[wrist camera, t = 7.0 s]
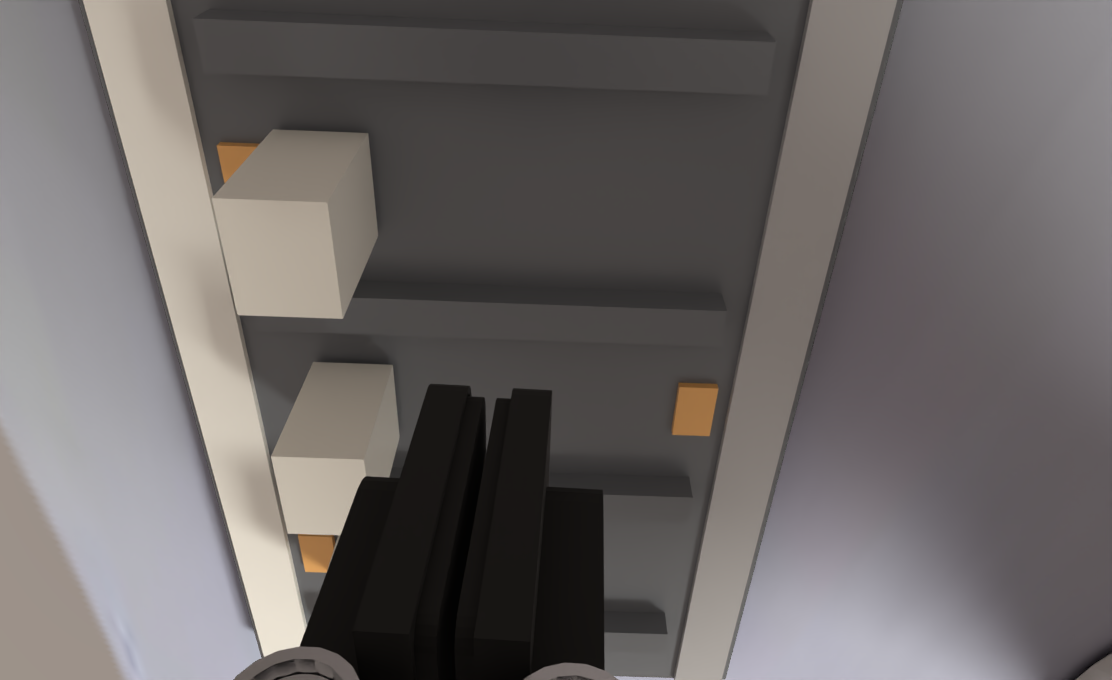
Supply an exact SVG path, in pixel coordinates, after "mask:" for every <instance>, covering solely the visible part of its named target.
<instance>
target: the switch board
mask: <svg viewBox="0 0 1112 680" xmlns="http://www.w3.org/2000/svg"><path fill="white" fill-rule="evenodd" d="M78 1H79V5H80V8H81V12H82V15H83V19H84V23H85V26H86V30H87V33H88V37H89V40H90V44H91V48H92V51H93V55H94V58H95V62H96V66H97V69H98V73H99V76H100V80H101V84H102V87H103V91H104V94H105V98H106V101H107V105H108V109H109V112H110V116H111V119H112V123H113V127H114V130H115V134H116V137H117V141H118V144H119V148H120V152H121V155H122V159H123V162H124V166H125V170H126V173H127V177H128V180H129V184H130V188H131V191H132V195H133V198H134V202H135V205H136V209H137V213H138V216H139V220H140V223H141V227H142V231H143V234H144V238H145V241H146V245H147V248H148V252H149V256H150V259H151V263H152V266H153V270H154V274H155V277H156V281H157V284H158V288H159V292H160V295H161V299H162V302H163V306H164V309H165V313H166V317H167V320H168V324H169V327H170V331H171V335H172V338H173V342H174V345H175V349H176V352H177V356H178V360H179V363H180V367H181V370H182V374H183V378H184V381H185V385H186V388H187V392H188V396H189V399H190V403H191V406H192V410H193V413H194V417H195V421H196V424H197V428H198V431H199V435H200V439H201V442H202V446H203V449H204V453H205V456H206V460H207V464H208V467H209V471H210V474H211V478H212V482H213V485H214V489H215V492H216V496H217V500H218V503H219V507H220V510H221V514H222V517H223V521H224V525H225V528H226V532H227V535H228V539H229V543H230V546H231V550H232V553H233V557H234V560H235V564H236V568H237V571H238V575H239V578H240V582H241V586H242V589H243V593H244V596H245V600H246V604H247V607H248V611H249V614H250V618H251V621H252V625H253V629H254V632H255V636H256V639H257V643H258V647H259V650H260V654H261V657H262V658H263V657H265V656H267V655H270V654H272V653H274V652H276V651H279V650H284V649H289V648H294V647H299V646H300V644H301V641H302V638H303V636H304V633H305V630H306V627H307V625H308V622H309V619H310V617H311V614H312V611H313V608H314V606H315V603H316V600H317V598H318V595H319V592H320V589H321V587H322V584H323V581H324V579H325V576H326V573H327V570H328V566H329V563H330V560H331V557H332V553H333V550H334V547H335V544H336V540H337V537H338V535H314V534H288V533H287V528H286V524H285V519H284V514H283V510H282V505H281V501H280V496H279V491H278V487H277V482H276V478H275V473H274V469H273V464H272V459H271V455H272V453H273V451H274V448H275V446H276V444H277V442H278V439H279V437H280V435H281V433H282V430H283V428H284V426H285V424H286V422H287V419H288V417H289V415H290V413H291V410H292V408H293V406H294V404H295V401H296V399H297V397H298V395H299V392H300V390H301V388H302V386H303V384H304V381H305V379H306V377H307V375H308V372H309V370H310V368H311V366H312V363H313V362H329V363H358V364H387V365H393V373H394V383H395V394H396V404H397V415H398V425H399V435H400V438H399V442H398V445H397V449H396V453H395V457H394V461H393V465H392V469H391V473H390V476H389V478H400V475H401V472H402V469H403V466H404V462H405V459H406V456H407V453H408V449H409V446H410V443H411V440H412V436H413V433H414V430H415V427H416V424H417V420H418V417H419V414H420V411H421V407H422V404H423V401H424V398H425V394H426V391H427V388H428V386H429V385H430V384H447V385H465V386H470V387H471V395H472V396H473V397H484V398H485V403H486V452H487V446H488V441H489V435H490V430H491V424H492V419H493V413H494V408H495V402H496V399H497V398H509V399H511V395H512V390H513V388H519V389H538V390H552V415H551V440H550V465H549V487H563V488H581V489H598V490H603V507H604V659H605V671H607V672H608V673H610V674H611V675H612V676H632V677H666V678H674V680H722V679H725V678H726V675H727V671H728V667H729V663H730V659H731V655H732V652H733V648H734V644H735V640H736V636H737V633H738V629H739V625H740V621H741V617H742V614H743V610H744V606H745V602H746V598H747V594H748V591H749V587H750V583H751V579H752V575H753V572H754V568H755V564H756V560H757V556H758V553H759V549H760V545H761V541H762V537H763V534H764V530H765V526H766V522H767V518H768V514H769V511H770V507H771V503H772V499H773V495H774V492H775V488H776V484H777V480H778V476H779V473H780V469H781V465H782V461H783V457H784V453H785V450H786V446H787V442H788V438H789V434H790V431H791V427H792V423H793V419H794V415H795V412H796V408H797V404H798V400H799V396H800V393H801V389H802V385H803V381H804V377H805V373H806V370H807V366H808V362H809V358H810V354H811V351H812V347H813V343H814V339H815V335H816V332H817V328H818V324H819V320H820V316H821V312H822V309H823V305H824V301H825V297H826V293H827V290H828V286H829V282H830V278H831V274H832V271H833V267H834V263H835V259H836V255H837V252H838V248H839V244H840V240H841V236H842V232H843V229H844V225H845V221H846V217H847V213H848V210H849V206H850V202H851V198H852V194H853V191H854V187H855V183H856V179H857V175H858V171H859V168H860V164H861V160H862V156H863V152H864V149H865V145H866V141H867V137H868V133H869V130H870V126H871V122H872V118H873V114H874V111H875V107H876V103H877V99H878V95H879V91H880V88H881V84H882V80H883V76H884V72H885V69H886V65H887V61H888V57H889V53H890V50H891V46H892V42H893V38H894V34H895V30H896V27H897V23H898V19H899V15H900V11H901V8H902V4H903V0H78ZM273 129H276V130H302V131H328V132H354V133H368V136H369V146H370V156H371V167H372V177H373V187H374V198H375V208H376V218H377V228H378V238H377V240H376V242H375V245H374V247H373V249H372V252H371V254H370V256H369V259H368V261H367V263H366V266H365V268H364V270H363V273H362V275H361V278H360V280H359V282H358V285H357V287H356V289H355V292H354V294H353V296H352V299H351V301H350V303H349V306H348V308H347V310H346V313H345V315H344V317H343V319H333V318H304V317H276V316H248V315H237V311H236V306H235V302H234V297H233V293H232V288H231V284H230V279H229V274H228V270H227V265H226V261H225V256H224V252H223V247H222V243H221V238H220V233H219V229H218V224H217V220H216V215H215V211H214V206H213V202H212V197H213V196H214V195H215V194H216V193H217V192H218V191H219V189H220V188H221V187H222V186H223V185H224V184H225V183H226V182H227V180H228V179H229V178H230V177H231V176H232V175H233V174H234V172H235V171H236V170H237V169H238V168H239V167H240V166H241V165H242V163H243V162H244V161H245V160H246V159H247V158H248V157H249V156H250V154H251V153H252V152H253V151H254V150H255V149H256V148H257V147H258V145H259V144H260V143H261V142H262V141H263V140H264V139H265V137H266V136H267V135H268V134H269V133H270V132H271V131H272V130H273Z"/></svg>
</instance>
